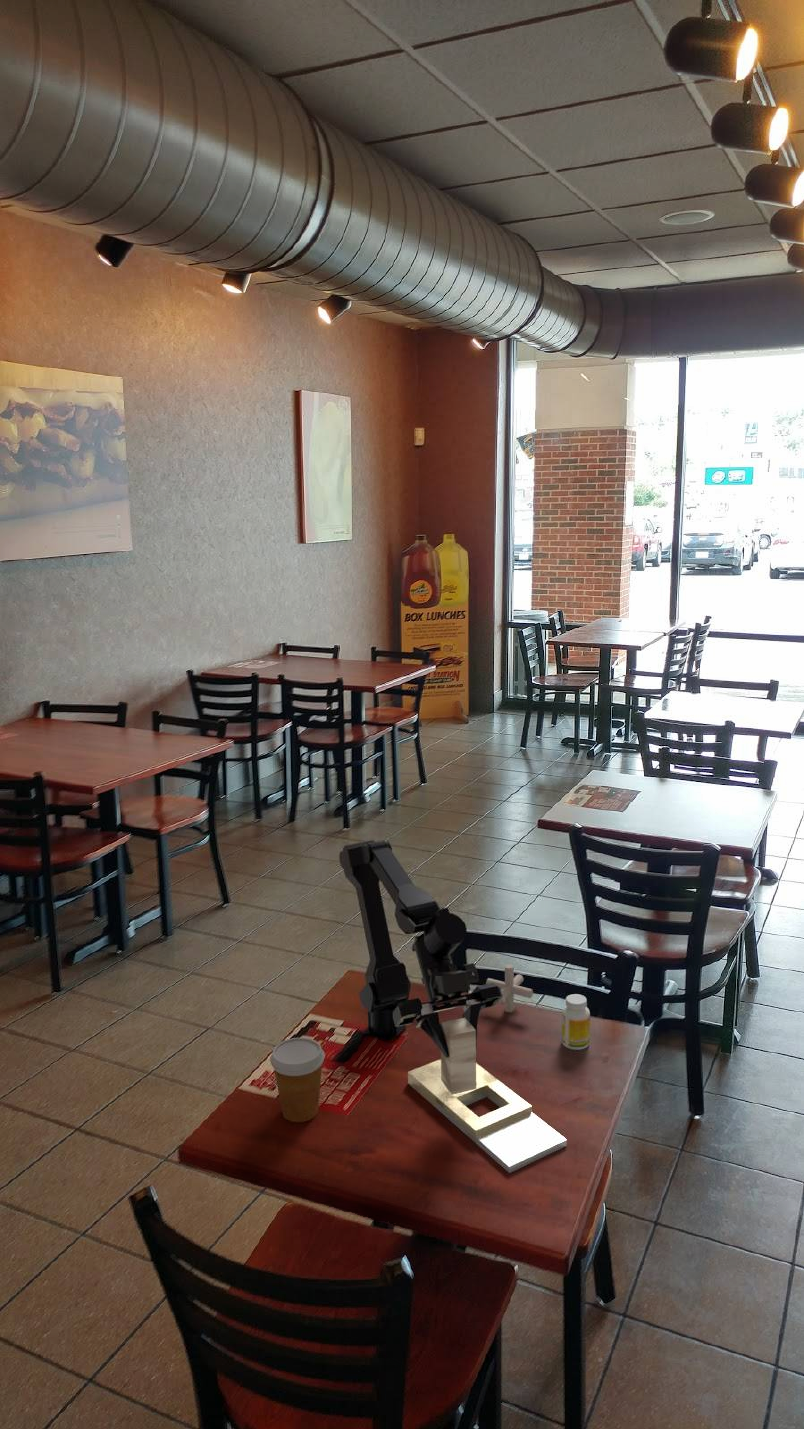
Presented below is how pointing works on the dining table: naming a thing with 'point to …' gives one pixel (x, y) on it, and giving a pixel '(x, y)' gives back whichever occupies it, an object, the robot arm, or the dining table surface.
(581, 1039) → the supplement bottle
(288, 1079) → the disposable coffee cup
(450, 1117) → the plate with square hole
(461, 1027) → the maple pin
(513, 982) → the pipe connector
